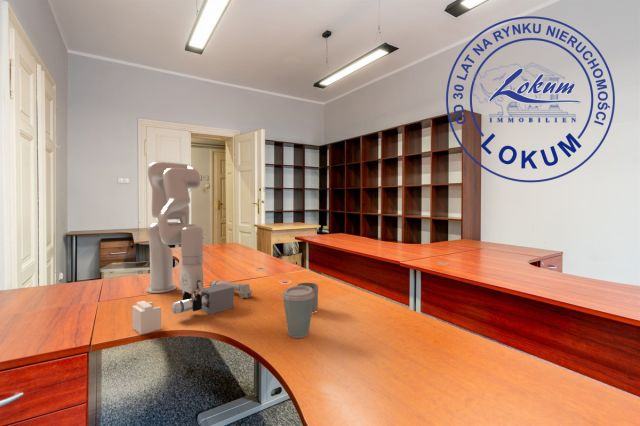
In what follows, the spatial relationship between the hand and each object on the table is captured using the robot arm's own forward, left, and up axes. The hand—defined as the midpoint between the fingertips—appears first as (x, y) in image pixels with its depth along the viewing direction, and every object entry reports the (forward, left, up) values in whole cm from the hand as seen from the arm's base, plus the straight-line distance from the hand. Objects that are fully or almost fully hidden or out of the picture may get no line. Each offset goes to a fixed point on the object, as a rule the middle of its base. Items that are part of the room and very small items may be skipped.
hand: (192, 307), depth 117 cm
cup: (+26, +35, -4) cm, 43 cm away
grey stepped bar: (-14, +26, -4) cm, 29 cm away
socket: (0, -15, -3) cm, 15 cm away
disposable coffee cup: (+39, +17, -3) cm, 42 cm away
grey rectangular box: (0, +11, -3) cm, 11 cm away
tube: (0, +4, -1) cm, 5 cm away
